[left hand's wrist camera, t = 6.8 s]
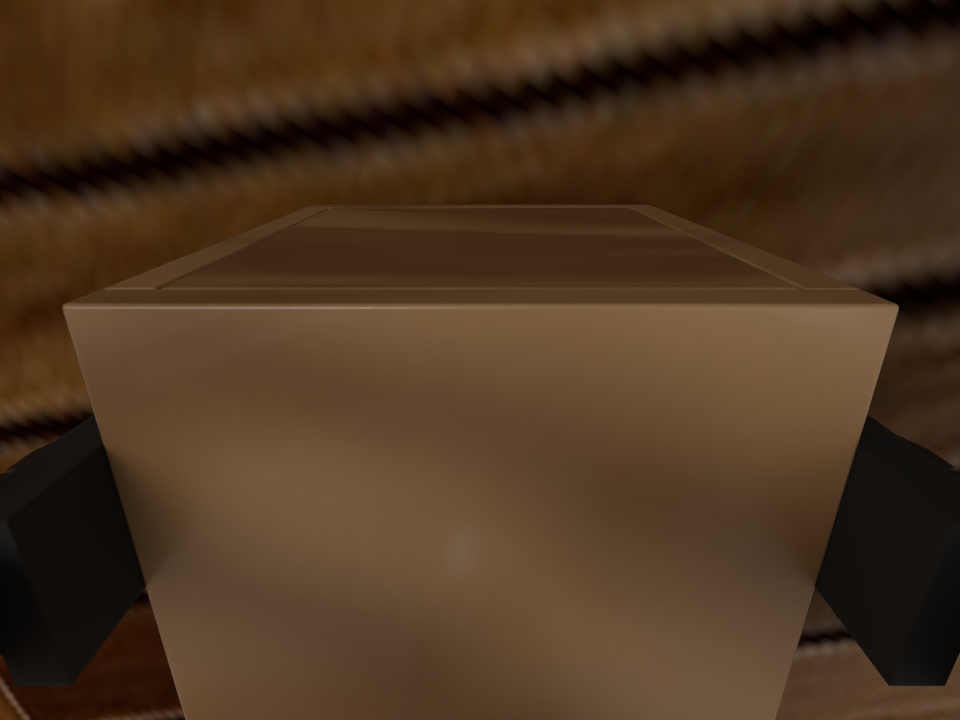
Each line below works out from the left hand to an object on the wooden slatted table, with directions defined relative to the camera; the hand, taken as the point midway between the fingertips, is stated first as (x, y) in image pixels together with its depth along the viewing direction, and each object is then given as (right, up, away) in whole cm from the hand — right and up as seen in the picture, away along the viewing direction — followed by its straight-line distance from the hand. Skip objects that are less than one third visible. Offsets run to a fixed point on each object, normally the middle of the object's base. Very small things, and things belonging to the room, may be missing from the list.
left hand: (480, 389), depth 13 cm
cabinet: (0, -3, +8) cm, 9 cm away
